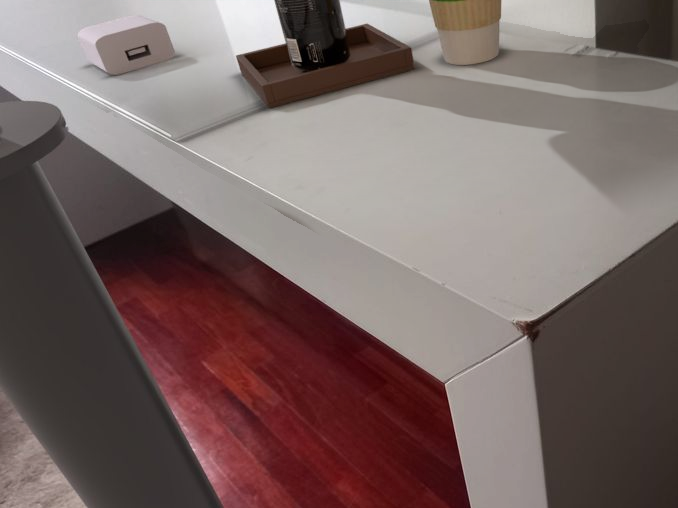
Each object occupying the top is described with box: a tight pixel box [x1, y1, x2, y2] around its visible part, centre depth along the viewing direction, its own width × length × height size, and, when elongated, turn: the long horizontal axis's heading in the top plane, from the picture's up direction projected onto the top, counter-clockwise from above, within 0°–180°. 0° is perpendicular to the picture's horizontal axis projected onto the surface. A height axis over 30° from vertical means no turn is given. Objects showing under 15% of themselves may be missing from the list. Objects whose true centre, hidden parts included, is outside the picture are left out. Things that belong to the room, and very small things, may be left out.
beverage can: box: [273, 0, 351, 73], centre depth 75 cm, size 7×7×12 cm
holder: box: [235, 23, 416, 109], centre depth 78 cm, size 17×15×2 cm
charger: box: [77, 14, 176, 76], centre depth 95 cm, size 5×9×15 cm
